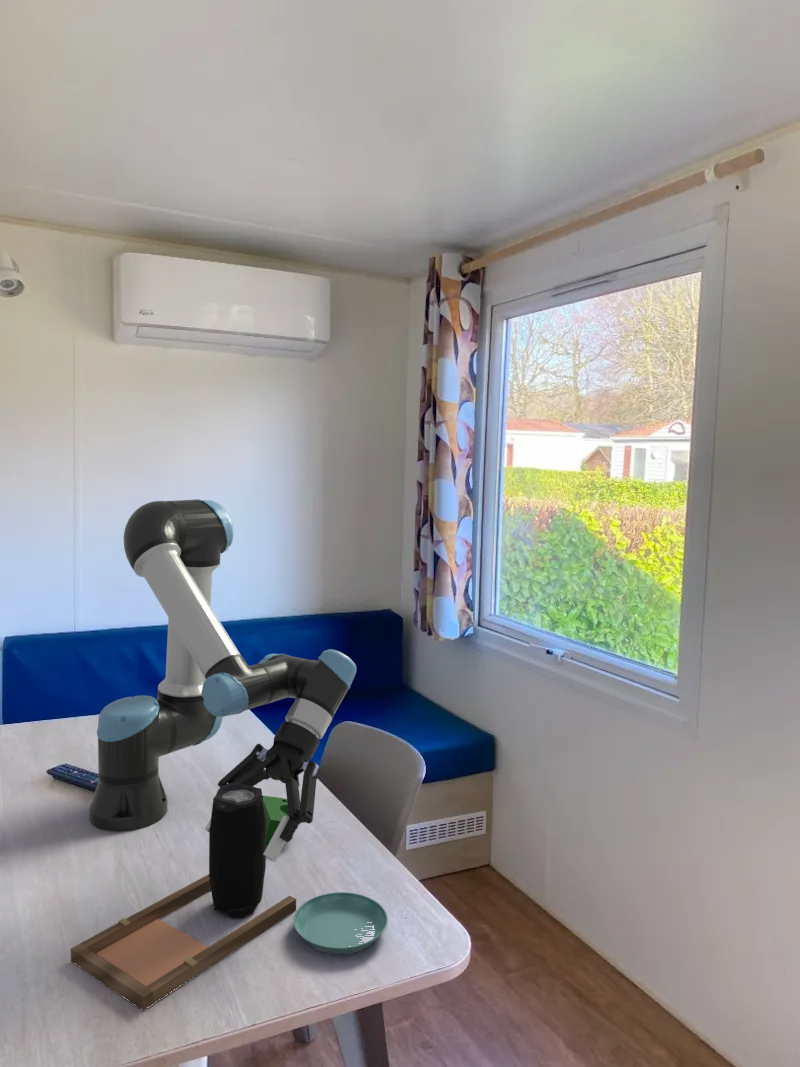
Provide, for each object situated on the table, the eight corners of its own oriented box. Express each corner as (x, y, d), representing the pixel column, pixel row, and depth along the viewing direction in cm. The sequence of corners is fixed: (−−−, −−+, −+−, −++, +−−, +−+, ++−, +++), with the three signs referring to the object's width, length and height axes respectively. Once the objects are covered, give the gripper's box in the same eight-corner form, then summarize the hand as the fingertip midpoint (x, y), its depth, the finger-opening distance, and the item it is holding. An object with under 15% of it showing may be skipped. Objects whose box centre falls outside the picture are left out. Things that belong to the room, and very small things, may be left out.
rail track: (70, 960, 113) (70, 946, 112) (224, 875, 137) (224, 863, 136) (144, 1012, 103) (143, 996, 102) (296, 910, 127) (296, 897, 126)
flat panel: (95, 955, 114) (95, 953, 114) (157, 920, 123) (157, 918, 123) (154, 994, 106) (154, 992, 106) (216, 954, 115) (216, 952, 115)
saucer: (308, 973, 112) (309, 956, 111) (282, 917, 125) (282, 902, 125) (402, 950, 117) (402, 934, 117) (367, 899, 131) (367, 884, 131)
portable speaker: (275, 899, 130) (276, 787, 128) (238, 928, 121) (239, 809, 120) (235, 884, 134) (236, 776, 132) (197, 911, 126) (198, 796, 124)
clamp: (286, 863, 150) (301, 830, 146) (256, 860, 148) (271, 827, 144) (282, 815, 160) (296, 783, 157) (254, 811, 158) (267, 779, 155)
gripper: (366, 757, 132) (307, 878, 121) (262, 726, 146) (200, 832, 135) (347, 736, 127) (283, 860, 116) (241, 705, 141) (175, 814, 130)
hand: (238, 845), depth 126 cm, fingers open, 13 cm apart
